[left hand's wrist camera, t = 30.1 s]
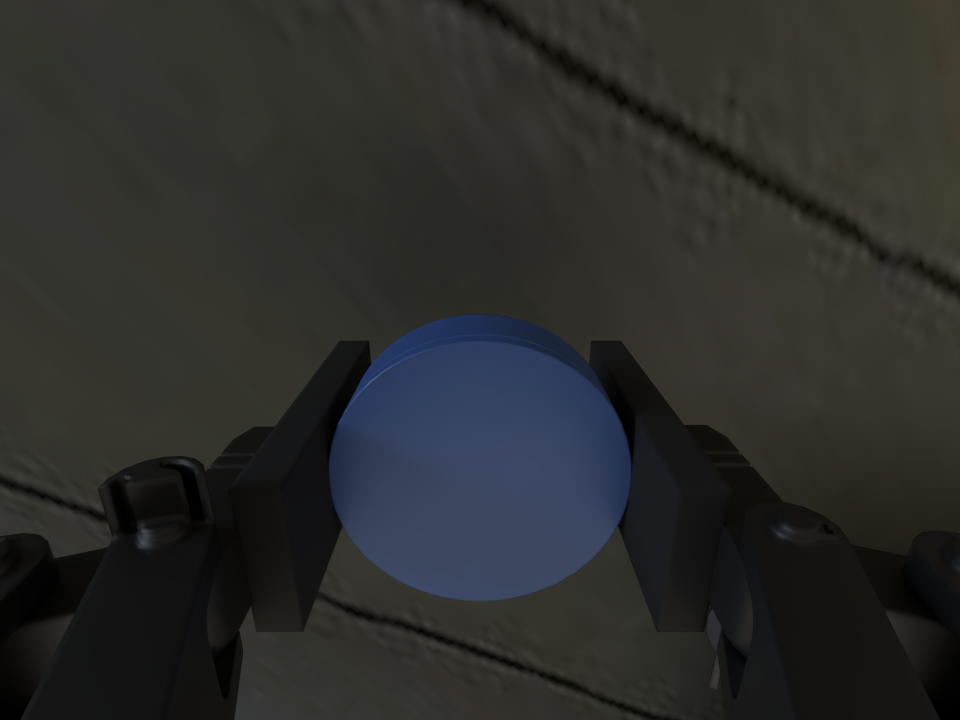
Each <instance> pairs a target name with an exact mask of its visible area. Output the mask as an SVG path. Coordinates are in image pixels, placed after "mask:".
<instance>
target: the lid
mask: <svg viewBox="0 0 960 720" xmlns="http://www.w3.org/2000/svg"><path fill="white" fill-rule="evenodd" d="M328 470H329V480H330V488H331V496H332V501H333V504H334V508H335V511H336V513H337V515H338V517H339V520H340V522H341V524H342V526H343V528H344V529H345V531H346V532H347V534H348V536H349V537H350V539H351V540H352V541H353V543H354V544H355V545H356V546H357V547H358V549H359V550H360V551H361V552H362V553H363V554H364V555H365V556H366V557H367V558H368V559H369V560H370V561H371V562H372V563H374V564H375V565H376V566H377V567H379V568H380V569H381V570H383V571H384V572H386V573H387V574H388V575H390V576H392V577H394V578H395V579H397V580H399V581H401V582H402V583H404V584H406V585H409V586H411V587H413V588H416V589H418V590H421V591H424V592H427V593H430V594H434V595H437V596H442V597H447V598H452V599H459V600H470V601H491V600H501V599H509V598H514V597H518V596H523V595H527V594H530V593H533V592H536V591H539V590H542V589H545V588H547V587H549V586H551V585H554V584H556V583H558V582H560V581H562V580H563V579H565V578H567V577H568V576H570V575H572V574H574V573H575V572H576V571H578V570H579V569H580V568H582V567H583V566H584V565H586V564H587V563H588V562H589V561H590V560H591V559H592V558H593V557H594V556H595V555H596V554H597V553H598V552H599V551H600V550H601V549H602V548H603V547H604V545H605V544H606V543H607V542H608V540H609V539H610V538H611V536H612V535H613V533H614V531H615V530H616V528H617V526H618V525H619V523H620V521H621V518H622V516H623V513H624V511H625V509H626V506H627V502H628V498H629V491H630V483H631V474H632V457H631V452H630V447H629V442H628V438H627V435H626V433H625V430H624V427H623V425H622V422H621V420H620V418H619V417H618V415H617V413H616V411H615V409H614V407H613V405H612V403H611V401H610V399H609V398H608V396H607V394H606V392H605V390H604V388H603V386H602V384H601V383H600V381H599V379H598V377H597V375H596V374H595V372H594V371H593V369H592V368H591V367H590V365H589V364H588V363H587V361H586V360H585V359H584V358H583V357H582V356H581V355H580V354H579V353H578V352H577V351H576V350H575V349H574V348H573V347H572V346H570V345H569V344H568V343H566V342H565V341H564V340H562V339H561V338H560V337H558V336H556V335H555V334H553V333H551V332H549V331H547V330H546V329H544V328H542V327H539V326H537V325H534V324H531V323H529V322H526V321H523V320H519V319H515V318H511V317H507V316H499V315H490V314H469V315H462V316H454V317H449V318H445V319H441V320H438V321H434V322H431V323H429V324H426V325H424V326H421V327H419V328H417V329H414V330H413V331H411V332H409V333H408V334H406V335H404V336H402V337H401V338H399V339H398V340H397V341H395V342H394V343H393V344H391V345H390V346H389V347H388V348H386V349H385V350H384V351H383V352H382V353H381V354H380V355H379V356H378V357H377V358H376V359H375V360H374V362H373V363H372V364H371V366H370V367H369V368H368V370H367V371H366V373H365V374H364V376H363V377H362V379H361V381H360V383H359V385H358V387H357V389H356V391H355V393H354V395H353V396H352V398H351V400H350V402H349V404H348V406H347V408H346V410H345V412H344V414H343V415H342V417H341V419H340V421H339V423H338V425H337V428H336V431H335V433H334V436H333V439H332V442H331V448H330V454H329V459H328Z"/></svg>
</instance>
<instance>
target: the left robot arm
mask: <svg viewBox="0 0 960 720" xmlns="http://www.w3.org/2000/svg"><path fill="white" fill-rule="evenodd" d="M589 365H590V367H591V368H592V369H593V371H594V372H595V374H596V375H597V377H598V379H599V381H600V383H601V384H602V386H603V388H604V390H605V392H606V394H607V396H608V398H609V399H610V401H611V403H612V405H613V407H614V409H615V411H616V413H617V415H618V417H619V418H620V420H621V422H622V425H623V427H624V430H625V433H626V435H627V438H628V442H629V447H630V452H631V457H632V474H631V483H630V491H629V498H628V502H627V506H626V509H625V511H624V513H623V516H622V518H621V521H620V523H619V525H618V527H619V530H620V533H621V535H622V538H623V541H624V543H625V546H626V549H627V552H628V554H629V557H630V560H631V562H632V565H633V568H634V570H635V573H636V576H637V579H638V581H639V584H640V587H641V589H642V592H643V595H644V597H645V600H646V603H647V606H648V608H649V611H650V614H651V616H652V619H653V622H654V624H655V627H656V630H657V632H704V629H705V624H706V619H707V614H708V609H709V604H710V605H711V607H712V609H713V611H714V613H715V615H716V617H717V619H718V621H719V623H720V625H721V631H720V636H719V641H718V645H717V650H716V654H715V659H714V664H713V668H712V673H711V679H710V686H709V687H710V688H714V689H717V687H718V682H719V678H720V679H721V686H722V694H723V701H724V709H725V717H726V720H960V533H951V532H944V531H930V532H922V533H921V534H919V535H918V536H916V537H915V538H914V539H913V541H912V544H911V547H910V550H909V553H908V555H907V556H903V555H898V554H893V553H888V552H884V551H879V550H874V549H869V548H864V547H859V546H855V545H851V544H850V542H849V540H848V538H847V537H846V535H845V534H844V533H843V532H842V530H841V529H840V528H839V527H838V526H837V525H836V524H834V523H833V522H831V521H830V520H829V519H827V518H826V517H824V516H823V515H821V514H818V513H816V512H814V511H812V510H809V509H807V508H805V507H802V506H798V505H794V504H790V503H786V502H783V501H782V500H781V499H780V498H779V496H778V495H777V494H776V493H775V492H774V491H773V490H772V488H771V487H770V486H769V485H768V484H767V483H766V482H765V480H764V479H763V478H762V477H761V476H760V475H759V473H758V472H757V471H756V470H755V469H754V468H753V467H750V463H749V462H748V461H747V460H746V459H745V457H744V456H743V455H740V453H739V451H738V449H737V448H736V447H735V446H734V445H733V444H732V443H731V441H730V440H729V439H728V438H727V437H726V436H724V435H722V434H721V433H719V432H717V431H715V430H714V429H712V428H710V427H709V426H707V425H684V424H683V423H682V422H681V420H680V419H679V418H678V416H677V415H676V414H675V412H674V411H673V410H672V408H671V407H670V406H669V404H668V403H667V402H666V400H665V399H664V398H663V396H662V395H661V394H660V392H659V391H658V390H657V388H656V387H655V386H654V384H653V383H652V382H651V380H650V379H649V378H648V377H647V375H646V374H645V373H644V371H643V370H642V369H641V367H640V366H639V365H638V363H637V362H636V361H635V359H634V358H633V357H632V355H631V354H630V353H629V351H628V350H627V349H626V347H625V346H624V345H623V343H622V342H621V341H591V351H590V364H589ZM370 366H371V359H370V347H369V341H339V342H338V344H337V345H336V346H335V348H334V349H333V350H332V352H331V353H330V354H329V356H328V357H327V358H326V360H325V361H324V362H323V364H322V365H321V366H320V368H319V369H318V370H317V372H316V373H315V374H314V376H313V377H312V378H311V380H310V381H309V382H308V384H307V385H306V386H305V388H304V389H303V390H302V392H301V393H300V394H299V396H298V397H297V398H296V400H295V401H294V402H293V404H292V405H291V406H290V408H289V409H288V410H287V412H286V413H285V414H284V416H283V417H282V418H281V420H280V421H279V422H278V423H277V425H276V426H275V427H253V428H251V429H250V430H248V431H246V432H245V433H243V434H241V435H240V436H238V437H236V438H235V439H233V441H232V442H231V443H230V444H229V445H228V446H227V448H226V449H225V450H224V451H223V452H222V453H221V456H219V457H218V458H217V459H216V460H215V461H214V463H213V464H212V465H211V469H207V471H206V472H205V469H204V465H203V464H202V463H201V462H199V461H198V460H196V459H194V458H189V457H184V456H174V457H161V458H157V459H152V460H148V461H143V462H141V463H138V464H135V465H133V466H130V467H128V468H125V469H123V470H121V471H120V472H118V473H116V474H115V475H113V476H111V477H110V478H108V479H107V480H106V481H105V482H104V483H103V484H102V485H101V486H100V487H99V488H98V491H99V495H100V498H101V501H102V505H103V508H104V511H105V514H106V518H107V521H108V524H109V528H110V531H111V534H112V537H113V539H112V541H111V543H110V545H109V547H107V548H103V549H99V550H94V551H89V552H84V553H79V554H74V555H69V556H64V557H59V558H54V557H53V554H52V551H51V548H50V546H49V543H48V541H47V540H46V539H44V538H43V537H42V536H40V535H36V534H27V533H21V534H14V535H7V536H0V720H234V718H235V710H236V703H237V695H238V688H239V680H240V672H241V665H242V657H243V648H242V641H241V636H240V631H239V628H240V626H241V624H242V622H243V620H244V618H245V617H246V615H247V613H248V611H249V609H250V607H251V608H252V613H253V618H254V623H255V627H256V632H303V631H304V628H305V625H306V623H307V620H308V617H309V615H310V612H311V609H312V606H313V604H314V601H315V598H316V596H317V593H318V590H319V588H320V585H321V582H322V579H323V577H324V574H325V571H326V569H327V566H328V563H329V561H330V558H331V555H332V552H333V550H334V547H335V544H336V542H337V539H338V536H339V534H340V531H341V528H342V524H341V522H340V520H339V517H338V515H337V513H336V511H335V508H334V504H333V501H332V496H331V488H330V480H329V470H328V459H329V454H330V448H331V442H332V439H333V436H334V433H335V431H336V428H337V425H338V423H339V421H340V419H341V417H342V415H343V414H344V412H345V410H346V408H347V406H348V404H349V402H350V400H351V398H352V396H353V395H354V393H355V391H356V389H357V387H358V385H359V383H360V381H361V379H362V377H363V376H364V374H365V373H366V371H367V370H368V368H369V367H370Z"/></svg>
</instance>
